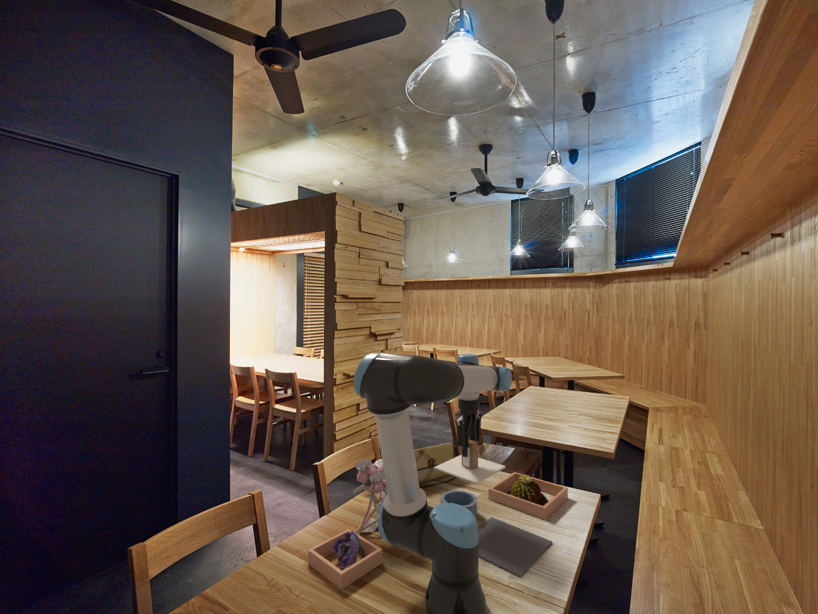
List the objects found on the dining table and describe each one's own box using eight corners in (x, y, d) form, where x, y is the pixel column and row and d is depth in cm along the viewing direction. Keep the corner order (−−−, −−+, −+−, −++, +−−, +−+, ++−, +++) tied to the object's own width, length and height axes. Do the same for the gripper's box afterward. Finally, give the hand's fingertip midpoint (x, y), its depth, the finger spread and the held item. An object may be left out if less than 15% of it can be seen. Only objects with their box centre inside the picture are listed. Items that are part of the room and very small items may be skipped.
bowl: (463, 529, 130) (463, 511, 131) (434, 515, 139) (433, 499, 139) (483, 514, 140) (483, 497, 140) (455, 502, 149) (454, 487, 149)
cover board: (476, 484, 123) (475, 454, 123) (434, 468, 136) (433, 441, 136) (505, 467, 136) (505, 440, 136) (464, 454, 149) (464, 430, 149)
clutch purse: (406, 493, 157) (406, 456, 158) (398, 486, 163) (398, 451, 164) (463, 478, 172) (463, 444, 172) (454, 472, 178) (454, 440, 178)
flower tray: (341, 589, 102) (341, 574, 102) (308, 563, 113) (308, 549, 113) (382, 562, 113) (382, 549, 113) (348, 541, 124) (348, 528, 124)
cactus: (495, 498, 153) (495, 474, 153) (519, 487, 162) (519, 464, 163) (532, 516, 139) (532, 489, 139) (556, 503, 149) (556, 477, 149)
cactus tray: (544, 519, 136) (544, 508, 136) (488, 498, 152) (488, 488, 152) (567, 497, 152) (567, 487, 153) (514, 481, 168) (514, 472, 168)
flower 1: (358, 524, 121) (341, 524, 114) (376, 545, 116) (359, 546, 108) (340, 551, 120) (322, 553, 112) (358, 573, 115) (339, 576, 107)
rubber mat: (520, 577, 106) (520, 575, 106) (455, 545, 121) (455, 544, 121) (552, 542, 122) (552, 541, 122) (491, 518, 137) (491, 517, 137)
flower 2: (375, 560, 111) (405, 473, 119) (327, 525, 126) (357, 449, 133) (412, 559, 126) (437, 481, 133) (366, 528, 140) (390, 459, 147)
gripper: (463, 403, 128) (464, 474, 128) (490, 395, 140) (491, 460, 139) (446, 400, 133) (447, 467, 133) (473, 392, 145) (473, 455, 145)
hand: (469, 463), depth 136 cm, fingers closed on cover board, 3 cm apart
